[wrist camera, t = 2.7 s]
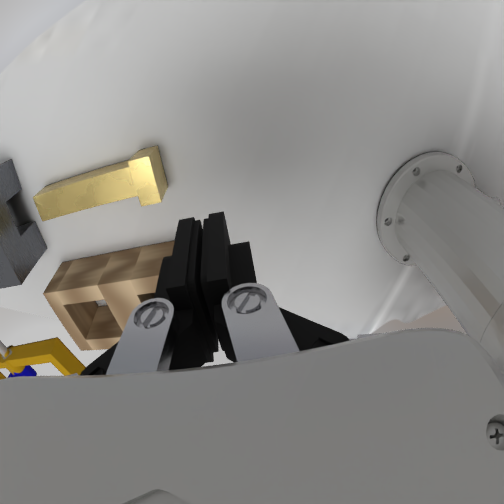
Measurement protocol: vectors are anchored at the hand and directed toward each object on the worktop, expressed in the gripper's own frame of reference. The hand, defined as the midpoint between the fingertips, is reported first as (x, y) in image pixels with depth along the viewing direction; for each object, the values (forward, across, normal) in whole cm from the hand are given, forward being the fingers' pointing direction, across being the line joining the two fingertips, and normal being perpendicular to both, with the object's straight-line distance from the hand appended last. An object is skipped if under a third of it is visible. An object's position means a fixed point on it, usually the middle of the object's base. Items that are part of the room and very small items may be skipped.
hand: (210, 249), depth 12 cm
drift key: (+14, +10, 0) cm, 17 cm away
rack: (+14, +10, +11) cm, 21 cm away
